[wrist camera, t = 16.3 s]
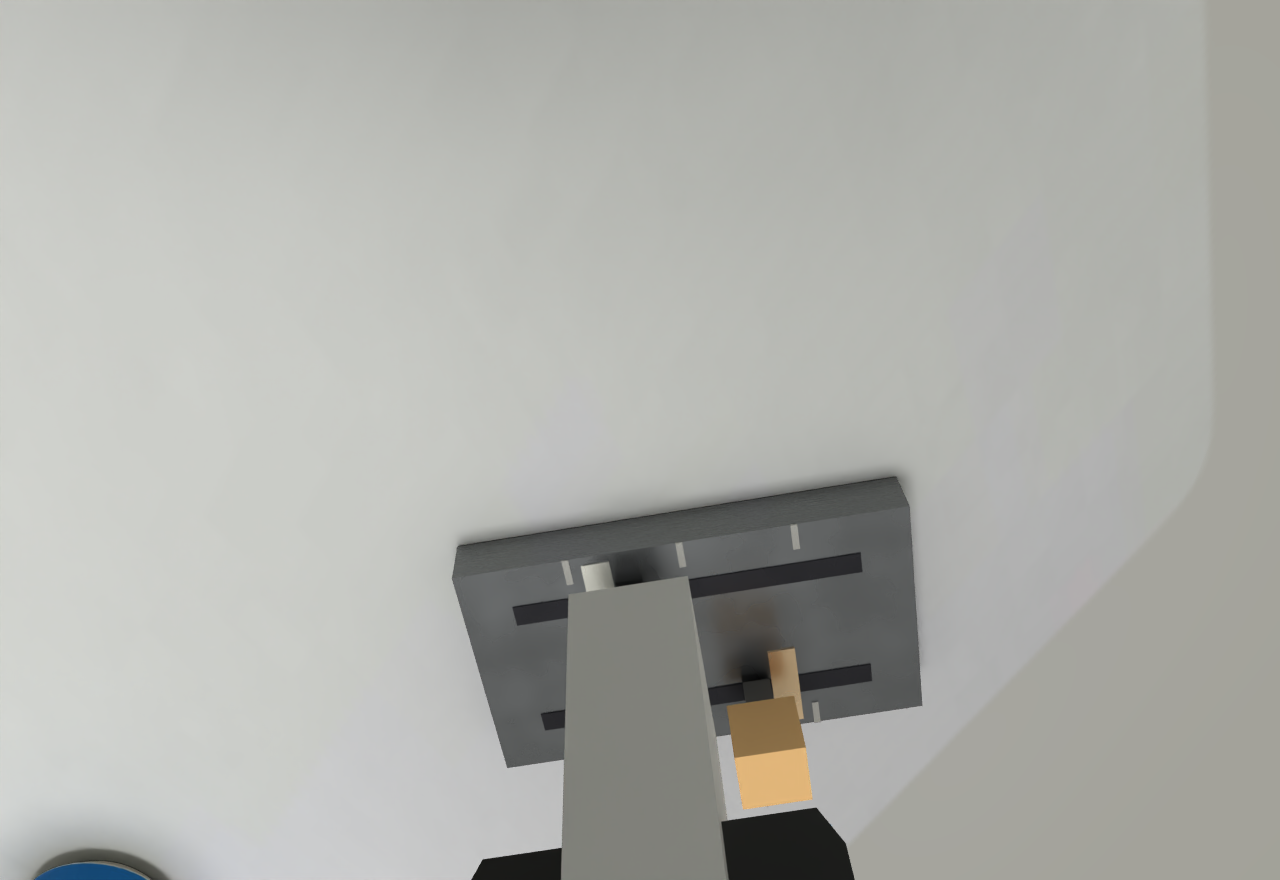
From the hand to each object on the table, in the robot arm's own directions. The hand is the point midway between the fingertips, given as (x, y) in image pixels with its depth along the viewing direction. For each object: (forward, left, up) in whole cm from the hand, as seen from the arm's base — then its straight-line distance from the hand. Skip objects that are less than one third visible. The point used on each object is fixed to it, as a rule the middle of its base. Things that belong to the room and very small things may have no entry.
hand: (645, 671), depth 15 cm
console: (0, -18, -24) cm, 30 cm away
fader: (+2, -20, -22) cm, 30 cm away
